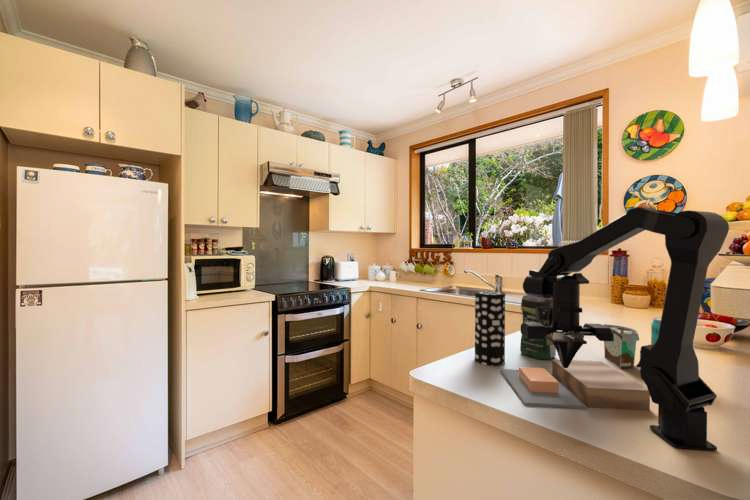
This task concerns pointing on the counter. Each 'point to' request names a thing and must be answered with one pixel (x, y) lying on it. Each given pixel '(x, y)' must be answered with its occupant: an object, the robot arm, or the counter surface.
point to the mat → (541, 393)
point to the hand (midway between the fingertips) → (564, 367)
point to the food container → (621, 347)
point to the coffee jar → (541, 346)
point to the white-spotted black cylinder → (490, 328)
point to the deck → (601, 385)
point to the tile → (538, 380)
